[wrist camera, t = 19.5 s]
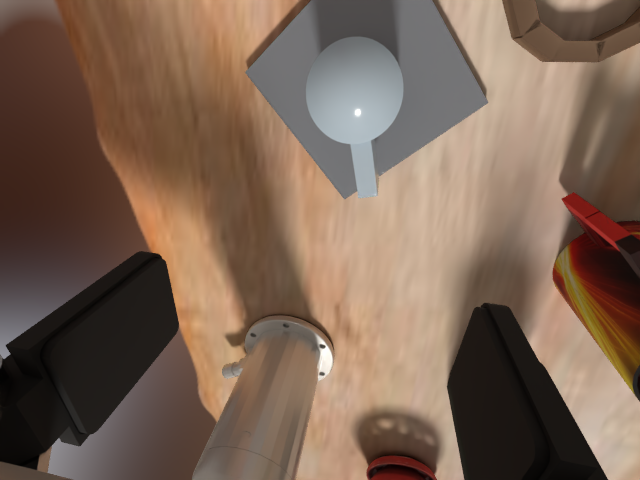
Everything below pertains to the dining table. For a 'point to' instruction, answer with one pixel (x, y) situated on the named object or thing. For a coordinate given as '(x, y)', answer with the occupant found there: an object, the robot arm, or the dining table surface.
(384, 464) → the plant pot
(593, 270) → the mug
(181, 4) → the dining table surface
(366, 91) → the jug
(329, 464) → the dining table surface
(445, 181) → the dining table surface
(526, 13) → the stand
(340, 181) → the tile
